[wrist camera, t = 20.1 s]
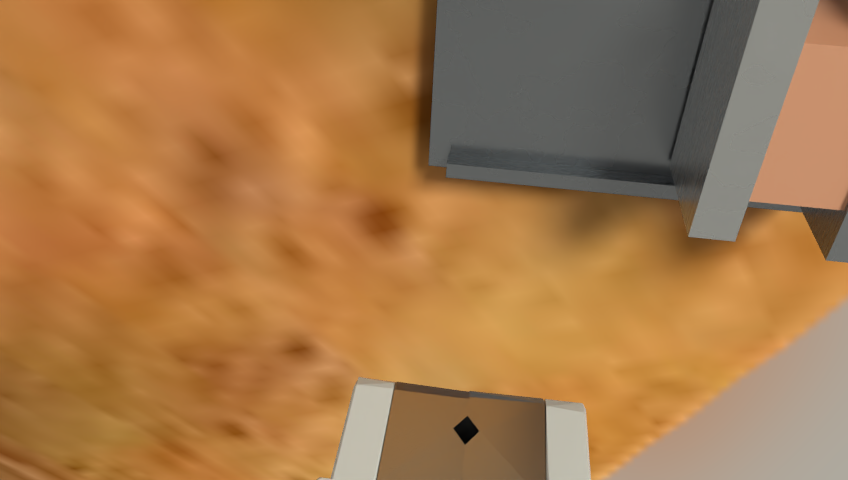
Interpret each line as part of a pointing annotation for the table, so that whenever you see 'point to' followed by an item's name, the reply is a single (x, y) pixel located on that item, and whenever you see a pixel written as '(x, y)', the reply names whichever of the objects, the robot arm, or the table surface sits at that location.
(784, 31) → the sliding jaw
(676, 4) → the vise base
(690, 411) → the table surface
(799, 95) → the rust block
